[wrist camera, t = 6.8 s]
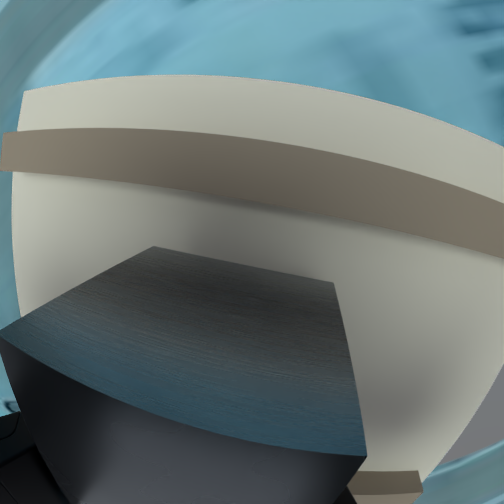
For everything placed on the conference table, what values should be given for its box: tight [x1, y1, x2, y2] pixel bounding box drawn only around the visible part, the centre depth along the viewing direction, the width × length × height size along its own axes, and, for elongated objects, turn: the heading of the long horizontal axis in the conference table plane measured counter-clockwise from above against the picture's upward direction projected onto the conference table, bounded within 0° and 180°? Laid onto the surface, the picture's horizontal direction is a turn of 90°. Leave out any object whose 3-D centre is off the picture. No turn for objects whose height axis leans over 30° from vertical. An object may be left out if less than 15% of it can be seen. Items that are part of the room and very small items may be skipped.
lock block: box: [0, 246, 367, 504], centre depth 6 cm, size 4×8×5 cm, turn 171°
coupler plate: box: [0, 75, 504, 504], centre depth 10 cm, size 22×18×3 cm
